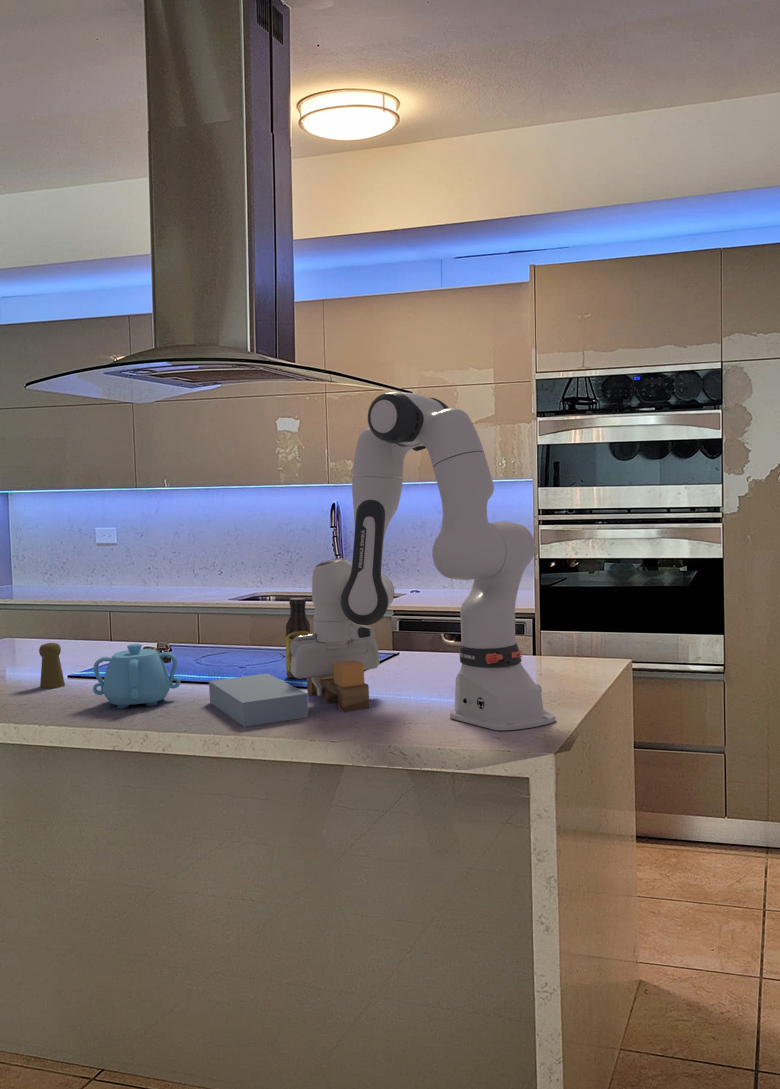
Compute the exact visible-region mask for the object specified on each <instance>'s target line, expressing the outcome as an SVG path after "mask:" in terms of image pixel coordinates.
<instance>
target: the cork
mask: <svg viewBox="0 0 780 1089" xmlns="http://www.w3.org/2000/svg"><path fill="white" fill-rule="evenodd" d="M61 650H62V647H61V645H60V644H59V643H57V642H48V643H47V642H46V643H44V644H41V645H40V647H39V649H38V651H39V656H41V668H40V682H39V684H40V685H39V688H40V689H42V690H43V689H44V690H51V689H58V688H63V687H65V686H66V683H65V679H64V673H63V670H62V664H61V661H60V654H61V652H62V651H61Z"/></svg>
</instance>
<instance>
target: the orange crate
mask: <svg viewBox="0 0 780 1089" xmlns="http://www.w3.org/2000/svg"><path fill="white" fill-rule="evenodd" d="M333 670H334V684H337V685H339V686H341V687H349V686H356V685H363V684H364V683H365V670H364V665H363V663H360V662H358V661H355V660H352V661H344V662H337V663H333Z"/></svg>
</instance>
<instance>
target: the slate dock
mask: <svg viewBox="0 0 780 1089" xmlns="http://www.w3.org/2000/svg"><path fill="white" fill-rule="evenodd" d="M208 687H209V688H208V689H209V690H208V691H209V704H211V705H212V706H213V707H215V708H217V709H218V710H219V711H221V712H222V713H224V714H225V715H226V716H228V717H229V718H230V719H232V720H233V721H235V722H236V723H238V724H239V725H240V726H242V727H243V728H246V727H252V726H258V725H264V724H271V723H272V724H273V723H278V722H285V721H291V720H292V721H293V720H297V719H305V718H309V707H308V706H309V705H308V704H309V702H308V701H309V700H308V693H307V692H305V691H303V690H301V689H300V688H297V687H296V686H294V685H291V684H289V683H287V682H285V681H283V679H280V678H278V677H276V676H274V675H272V674H270V673H260V674H255V675H254V674H253V675H245V676H240V677H239V676H238V677H231V678H224V679H215V680H208Z"/></svg>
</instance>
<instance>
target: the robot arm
mask: <svg viewBox="0 0 780 1089" xmlns="http://www.w3.org/2000/svg"><path fill="white" fill-rule="evenodd" d="M367 424H368V427H366V428H365V429H363V430H362V431H361V432H360V434H359V435H358V439H357V442H356V447H355V450H354V457H353V464H352V478H351V482H352V483H351V487H352V488H351V492H352V494H351V495H352V505H353V506H352V507H353V518H354V520H353V522H354V534H353V536H354V537H353V551H352V560H351V561H352V562H350V561H349V560H348V559H346V558H344V557H343V558H341V557H340V558H339V557H338V558H333V559H329V560H326V561H321V562H320V563H318V564H317V565H316V566H315V567H314V568H313V571H312V576H311V577H312V578H311V597H312V598H311V599H312V600H311V601H312V603H313V607H314V614H313V619H312V620H313V621H312V622H313V633H312V634H311V633H310V635H305V636H297V637H296V638H295V639H293V640H292V641H291V643H290V652H291V654H292V658H291V673H292V675H293V676H294V677H296V678H298V679H307V678H309V677H311V680H312V682H313V683H314V685H315V686H316V687H317V695H316V696H318V697H322V696H323V695H326V692H325V691H326V688H325V687H323V686H321V685H320V684H319V682H318V681H320V676H324V675H331V674H334V670H333V663H337V662H344V661H352V660H355V661H358V662H360V663H363V665H364V671H365V670H366V671H367V670H373V669H377V668H378V667H379V665H380V653H379V652H380V651H379V647H378V642H377V641H376V639H375V638H374V637H375V628H374V627H372V626H369V625H373V624H376V623H378V622H379V621H381V620H382V619H383V618H384V616H385V614H386V613H387V611H388V609H389V608H390V606H391V605H392V603H393V601H394V599H395V588H394V585H393V583H392V581H391V580H390V578H388V577H387V576H386V575H384V574H382V566H383V557H384V556H383V555H384V554H383V552H384V542H385V541H384V540H385V535H386V531H387V529H388V526H389V525H390V522H391V520H392V519H393V517H394V515H395V514H396V512H397V510H398V508H399V504H400V500H401V494H402V490H403V479H404V461H405V457H406V455H407V454H408V452H410V451H411V450H413V451H415V452H419V451H422V450H424V449H426V450H427V452H428V455H429V458H430V462H431V466H432V470H433V474H434V477H435V480H436V483H437V488H438V491H439V495H440V500H441V508H442V509H441V510H442V520H441V527H440V531H439V533H438V535H437V537H436V538H435V540H434V542H433V546H432V551H431V552H432V553H431V554H432V561H433V563H434V566H435V569H437V571H438V572H439V573H440V574H441V575H442V576H443V577H445V578H447V579H452V580H460V581H472V580H473V584H472V587H471V589H470V593H469V594H468V596H467V597H466V599H464V601H463V603H462V604H461V607H460V610H459V614H460V633H461V634H460V635H461V637H460V639H461V642H460V643H461V644H460V645H459V651H458V654H459V662H460V663H461V666H460V669H459V672H458V674H457V675H456V676H455V689H454V690H455V692H454V709H453V710H452V711H451V712H449V713H450V714H449V719H452V720H456V721H459V722H464V723H468V724H471V725H475V726H479V727H482V728H485V729H489V730H493V731H516V730H523V729H529V728H531V729H532V728H536V727H541V726H544V725H545V726H546V725H548V724H551V723H554V722H556V721H557V720H556V715H555V714H553V713H551V712H549V711H547V710H546V709H544V704H543V695H542V687H541V685H540V683H536V682H535V681H534V679H532V677H531V676H530V675H529V673H528V672H527V670H526V669H525V668H524V665H522V663H521V662H522V657H523V655H521V654H522V653H523V651H522V650H521V651H520V649H519V645H518V643H517V641H516V604H517V602H516V601H517V596H518V592H519V588H520V584H521V581H522V578H523V575H524V572H525V570H526V569H527V567H528V565H529V564H530V563H531V562H532V560H533V558H534V556H535V552H536V543H535V539H534V538H535V537H534V535H533V534H532V532H531V531H530V530H529V528H527V527H526V526H524V525H523V524H520V523H516V522H512V521H505V520H503V521H494V522H489V518H488V502H489V501H490V500H489V499H491V497H492V496H493V494H494V490H495V484H494V481H493V478H492V475H491V471H490V466H489V464H488V460H487V458H486V455H485V451H484V448H483V445H482V441H481V440H480V437H479V434H478V431H477V430H476V427H475V425H474V424H473V422H472V419H471V417H470V416H469V414H468V413H467V412H465V411H464V410H462V409H460V408H456V407H455V408H454V407H453V408H451V407H449V406H448V405H447V404H446V403H444V402H443V401H442V400H439V399H437V398H435V397H428V396H425V395H421V394H418V393H414V392H399V391H389V392H384V393H382V394H380V395H378V396H376V398H374V399H373V401H372V402H371V403H370V406H369V408H368V412H367ZM295 640H296V641H295Z"/></svg>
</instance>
